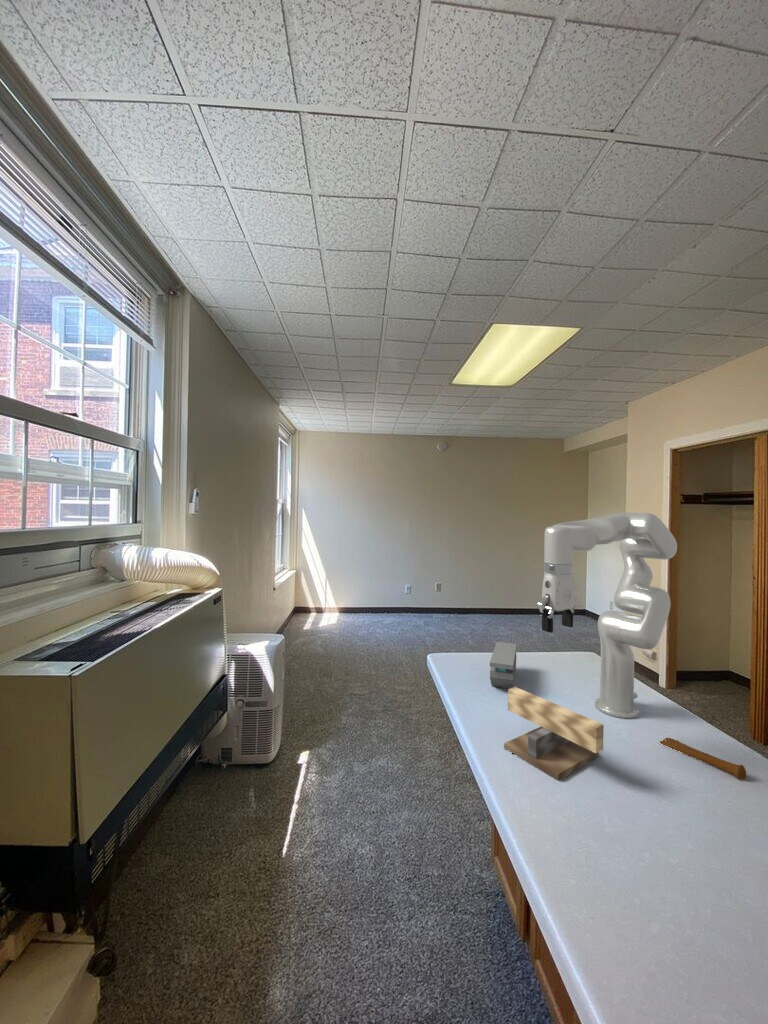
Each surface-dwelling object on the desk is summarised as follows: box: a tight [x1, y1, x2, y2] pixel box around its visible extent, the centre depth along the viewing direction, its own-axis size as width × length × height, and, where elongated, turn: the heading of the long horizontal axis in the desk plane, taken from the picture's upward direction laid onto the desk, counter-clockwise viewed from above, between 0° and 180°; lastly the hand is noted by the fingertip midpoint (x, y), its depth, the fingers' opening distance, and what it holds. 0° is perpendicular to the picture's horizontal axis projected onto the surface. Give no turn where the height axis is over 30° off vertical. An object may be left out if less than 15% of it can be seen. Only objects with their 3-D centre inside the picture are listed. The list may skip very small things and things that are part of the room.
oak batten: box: [507, 686, 605, 753], centre depth 112 cm, size 26×3×6 cm, turn 34°
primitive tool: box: [659, 737, 747, 781], centre depth 110 cm, size 19×6×4 cm, turn 29°
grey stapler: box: [489, 641, 517, 689], centre depth 158 cm, size 25×8×11 cm, turn 160°
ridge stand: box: [503, 726, 600, 781], centre depth 112 cm, size 18×16×6 cm
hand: (557, 628), depth 121 cm, fingers open, 9 cm apart
